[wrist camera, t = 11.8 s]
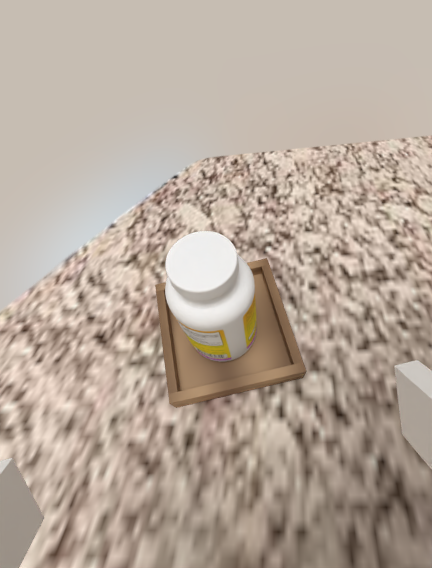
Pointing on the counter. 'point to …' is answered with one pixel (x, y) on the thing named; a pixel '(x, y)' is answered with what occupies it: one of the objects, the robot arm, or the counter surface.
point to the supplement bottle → (212, 295)
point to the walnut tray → (241, 371)
